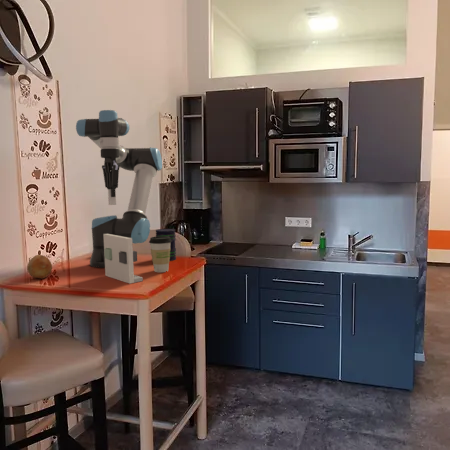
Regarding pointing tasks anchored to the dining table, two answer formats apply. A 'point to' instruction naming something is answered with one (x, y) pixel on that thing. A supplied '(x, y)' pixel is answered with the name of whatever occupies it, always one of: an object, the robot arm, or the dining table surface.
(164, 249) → the coffee cup
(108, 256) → the sage button
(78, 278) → the dining table surface
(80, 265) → the dining table surface
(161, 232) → the storage jar
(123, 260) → the black button
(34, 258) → the onion
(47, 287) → the dining table surface
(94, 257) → the robot arm
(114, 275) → the button panel
